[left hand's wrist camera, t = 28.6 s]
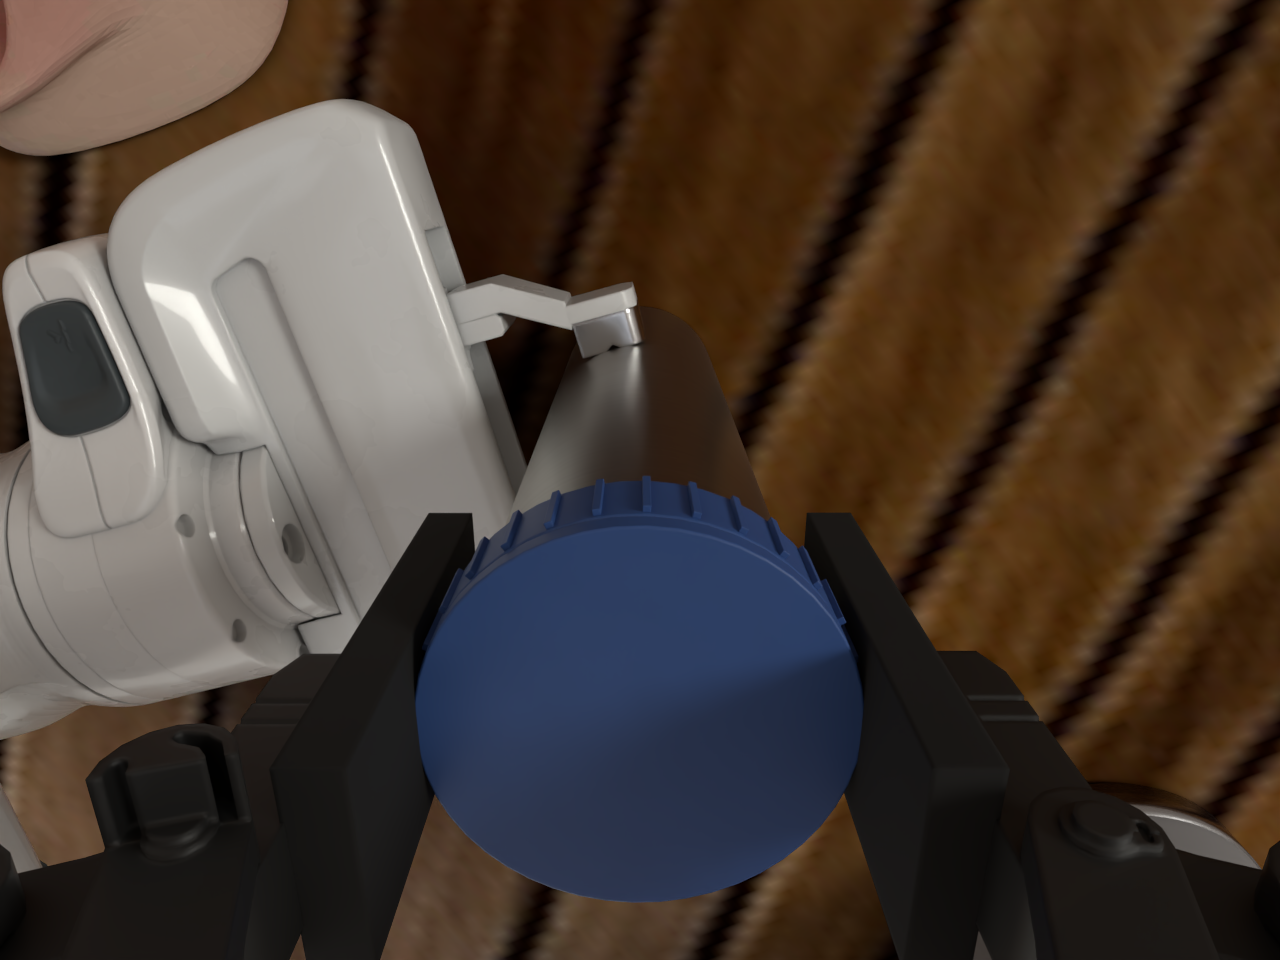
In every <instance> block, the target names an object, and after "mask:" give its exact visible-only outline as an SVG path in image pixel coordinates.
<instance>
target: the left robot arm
mask: <svg viewBox="0 0 1280 960" xmlns="http://www.w3.org/2000/svg"><path fill="white" fill-rule="evenodd" d="M804 548H805V549H806V550H807V552H808V554H809V556H810V559H811V561H812V563H813V565H814V568H815V570H816V572H817V574H818V577H819V579H820V581H822V580H824V579H826V580H827V582H828V584H829V586H830V588H831V590H832V593H833V595H834V597H835V599H836V601H837V603H838V606H839V608H840V610H841V612H842V614H843V616H844V619H845V621H846V623H845V624H844V625H845V627H846V630H847V632H848V634H849V636H850V638H851V641H852V643H853V645H854V647H855V649H856V652H857V654H858V662H857V666H858V670H859V674H860V678H861V682H862V687H863V696H864V708H863V719H862V728H861V737H860V745H859V753H858V761H857V764H856V766H855V769H854V771H853V774H852V776H851V779H850V781H849V784H848V786H847V788H846V790H845V791H844V794H845V797H846V800H847V803H848V806H849V809H850V812H851V815H852V818H853V821H854V824H855V827H856V830H857V833H858V836H859V839H860V842H861V845H862V848H863V851H864V854H865V858H866V861H867V864H868V867H869V870H870V873H871V876H872V879H873V882H874V885H875V888H876V891H877V894H878V897H879V900H880V903H881V906H882V909H883V912H884V915H885V918H886V921H887V924H888V927H889V930H890V933H891V936H892V939H893V942H894V945H895V948H896V951H897V954H898V958H899V960H1280V841H1279V842H1277V843H1276V844H1275V845H1274V846H1272V847H1271V848H1270V849H1269V852H1268V855H1267V858H1266V861H1265V864H1264V867H1263V870H1262V869H1261V868H1260V867H1259V865H1258V864H1257V863H1256V861H1255V860H1254V859H1253V858H1252V857H1251V855H1250V854H1249V853H1248V852H1247V851H1246V850H1245V849H1244V848H1243V847H1242V845H1241V844H1240V843H1239V842H1238V841H1237V840H1236V839H1235V838H1234V837H1233V835H1232V834H1231V833H1230V832H1229V831H1228V830H1227V829H1226V828H1225V827H1224V826H1223V825H1222V824H1221V823H1220V822H1219V821H1218V820H1217V819H1216V818H1215V817H1214V816H1213V815H1211V814H1210V813H1209V812H1208V811H1206V810H1205V809H1203V808H1202V807H1200V806H1198V805H1197V804H1195V803H1194V802H1192V801H1189V800H1187V799H1185V798H1183V797H1181V796H1178V795H1176V794H1173V793H1170V792H1167V791H1164V790H1160V789H1156V788H1152V787H1147V786H1140V785H1134V784H1120V783H1097V784H1088V783H1087V781H1086V780H1085V779H1084V777H1083V776H1082V774H1081V773H1080V772H1079V770H1078V769H1077V768H1076V766H1075V765H1074V764H1073V762H1072V761H1071V760H1070V758H1069V757H1068V755H1067V754H1066V753H1065V751H1064V750H1063V749H1062V747H1061V746H1060V745H1059V743H1058V742H1057V741H1056V739H1055V738H1054V736H1053V735H1052V734H1051V732H1050V731H1049V730H1048V728H1047V727H1046V726H1045V724H1044V723H1043V721H1039V716H1038V715H1037V713H1036V712H1035V711H1034V709H1033V708H1032V707H1031V705H1030V704H1029V702H1028V701H1024V696H1023V694H1022V693H1021V692H1020V690H1019V689H1018V688H1017V686H1016V685H1015V683H1014V682H1013V681H1012V679H1011V678H1010V677H1009V675H1008V674H1007V673H1006V672H1005V671H1004V670H1003V669H1001V668H1000V667H998V666H997V665H995V664H994V663H993V662H991V661H990V660H988V659H987V658H985V657H984V656H982V655H981V654H980V653H978V652H977V651H936V649H935V648H934V646H933V645H932V643H931V641H930V640H929V638H928V637H927V635H926V633H925V632H924V630H923V629H922V627H921V625H920V624H919V622H918V621H917V619H916V617H915V616H914V614H913V613H912V611H911V609H910V608H909V606H908V604H907V603H906V601H905V600H904V598H903V596H902V595H901V593H900V592H899V590H898V588H897V587H896V585H895V584H894V582H893V580H892V579H891V577H890V576H889V574H888V572H887V571H886V569H885V568H884V566H883V564H882V563H881V561H880V560H879V558H878V556H877V555H876V553H875V551H874V550H873V548H872V547H871V545H870V543H869V542H868V540H867V539H866V537H865V535H864V534H863V532H862V531H861V529H860V527H859V526H858V524H857V523H856V521H855V519H854V518H853V516H852V515H851V513H807V518H806V531H805V544H804ZM474 553H475V542H474V529H473V516H472V513H428V515H427V516H426V518H425V520H424V521H423V523H422V524H421V526H420V528H419V529H418V531H417V533H416V534H415V536H414V537H413V539H412V541H411V542H410V544H409V545H408V547H407V549H406V550H405V552H404V553H403V555H402V557H401V558H400V560H399V561H398V563H397V565H396V566H395V568H394V569H393V571H392V573H391V574H390V576H389V577H388V579H387V581H386V582H385V584H384V585H383V587H382V589H381V590H380V592H379V594H378V595H377V597H376V598H375V600H374V602H373V603H372V605H371V606H370V608H369V610H368V611H367V613H366V614H365V616H364V618H363V619H362V621H361V622H360V624H359V626H358V627H357V629H356V630H355V632H354V634H353V635H352V637H351V638H350V640H349V642H348V643H347V645H346V646H345V648H344V650H343V651H342V653H341V654H302V655H301V656H299V657H298V658H297V659H295V660H294V661H292V662H291V663H289V664H288V665H287V666H285V667H284V668H282V669H281V670H279V671H278V672H277V673H275V674H274V675H273V676H272V677H271V679H270V680H269V682H268V683H267V684H266V686H265V687H264V688H263V690H262V691H261V693H260V694H259V695H258V697H257V698H256V703H255V704H252V705H251V706H250V708H249V709H248V710H247V712H246V713H245V714H244V716H243V717H242V718H241V724H237V725H236V727H235V728H234V729H233V731H232V732H231V733H230V732H229V731H227V730H226V729H225V728H223V727H218V726H214V725H209V724H205V723H201V724H185V725H176V726H172V727H168V728H164V729H161V730H157V731H153V732H149V733H147V734H145V735H143V736H141V737H138V738H136V739H134V740H132V741H130V742H128V743H125V744H123V745H121V746H120V747H119V748H117V749H116V750H115V751H113V752H112V753H111V754H109V755H108V756H106V757H105V758H104V759H102V760H101V761H100V762H99V763H98V764H97V765H96V767H95V768H94V769H93V771H92V772H91V773H90V774H89V776H88V777H87V778H86V784H87V787H88V791H89V794H90V798H91V801H92V805H93V808H94V811H95V815H96V818H97V822H98V825H99V829H100V832H101V835H102V839H103V842H104V846H105V850H104V852H102V853H99V854H96V855H92V856H89V857H86V858H82V859H77V860H73V861H69V862H64V863H60V864H56V865H51V866H47V867H43V868H38V869H34V870H30V871H25V872H21V873H17V870H16V867H15V864H14V861H13V858H12V856H11V853H10V852H9V851H8V850H7V849H6V848H4V847H3V846H2V845H1V844H0V960H289V959H290V957H291V954H292V952H293V950H294V948H295V945H296V943H297V941H298V939H299V936H300V934H301V936H302V941H303V946H304V952H305V957H306V960H380V958H381V955H382V952H383V949H384V946H385V943H386V940H387V937H388V934H389V931H390V928H391V925H392V922H393V919H394V916H395V913H396V910H397V907H398V904H399V901H400V897H401V894H402V891H403V888H404V885H405V882H406V879H407V876H408V873H409V870H410V867H411V864H412V861H413V858H414V855H415V852H416V849H417V846H418V843H419V840H420V837H421V834H422V831H423V828H424V825H425V822H426V819H427V816H428V813H429V810H430V807H431V804H432V801H433V798H434V795H435V793H434V791H433V789H432V787H431V785H430V783H429V780H428V778H427V776H426V774H425V771H424V768H423V765H422V760H421V753H420V744H419V735H418V726H417V717H416V707H415V690H416V684H417V678H418V674H419V671H420V667H421V664H422V661H423V658H424V655H425V652H426V651H425V650H422V646H423V643H424V641H425V639H426V637H427V634H428V632H429V630H430V628H431V626H432V624H433V622H434V619H435V617H436V615H437V613H438V610H439V608H440V606H441V604H442V602H443V599H444V597H445V595H446V593H447V591H448V589H449V586H450V584H451V582H452V580H453V578H454V576H455V574H456V572H457V570H458V569H459V568H460V569H462V570H465V568H466V567H467V566H468V564H469V563H470V561H471V560H472V558H473V556H474Z"/></svg>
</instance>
